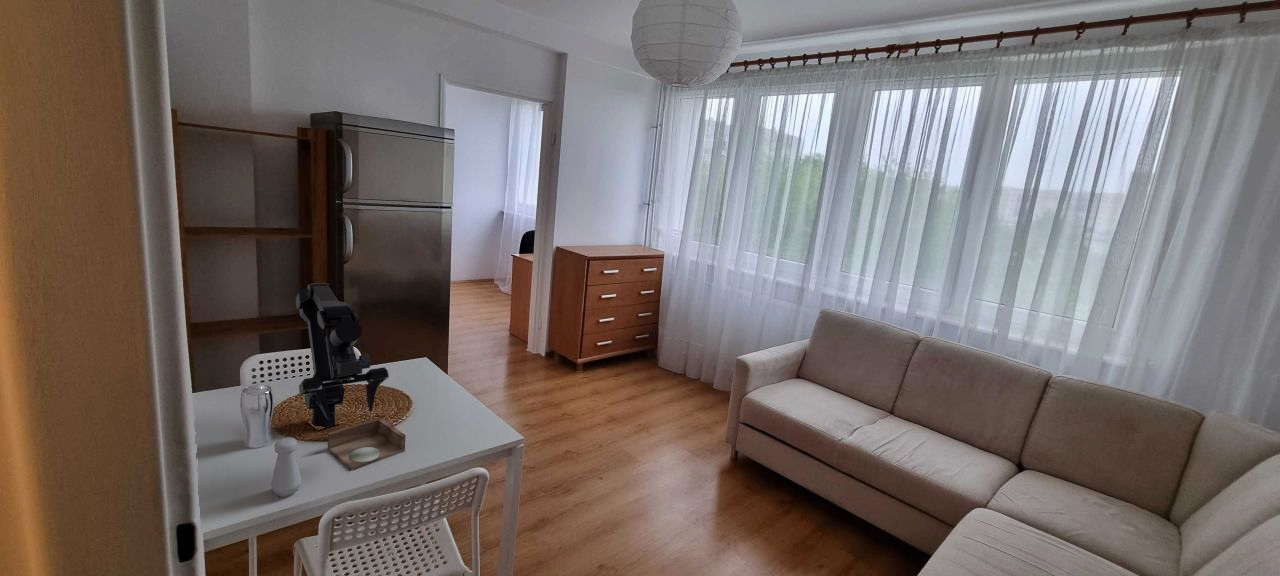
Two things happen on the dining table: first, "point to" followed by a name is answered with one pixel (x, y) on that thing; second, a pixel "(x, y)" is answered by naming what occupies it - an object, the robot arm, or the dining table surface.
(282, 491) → the salt shaker
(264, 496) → the dining table surface
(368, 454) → the corner tray
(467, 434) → the dining table surface
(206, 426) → the dining table surface
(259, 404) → the beer glass
